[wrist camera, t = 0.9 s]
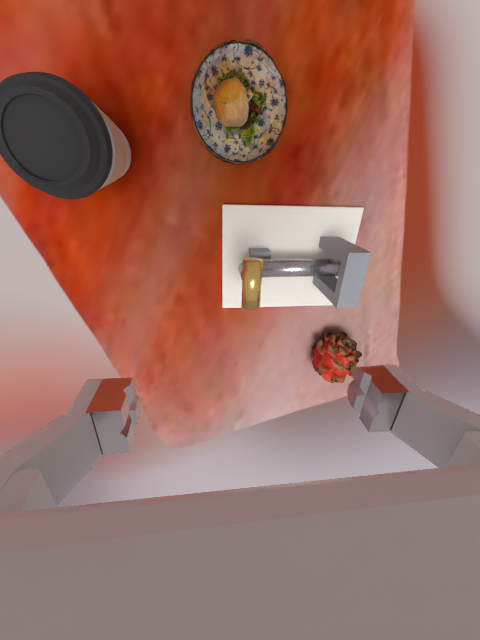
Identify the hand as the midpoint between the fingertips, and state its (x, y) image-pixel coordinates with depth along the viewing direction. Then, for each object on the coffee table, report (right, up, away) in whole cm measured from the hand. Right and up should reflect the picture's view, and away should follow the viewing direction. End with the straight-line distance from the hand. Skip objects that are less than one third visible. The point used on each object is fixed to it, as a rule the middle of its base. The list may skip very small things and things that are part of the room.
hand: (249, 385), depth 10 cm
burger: (-1, +29, +24) cm, 38 cm away
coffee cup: (-18, +24, +24) cm, 38 cm away
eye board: (+7, +12, +34) cm, 37 cm away
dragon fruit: (+17, -3, +44) cm, 47 cm away
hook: (+8, +11, +33) cm, 36 cm away
